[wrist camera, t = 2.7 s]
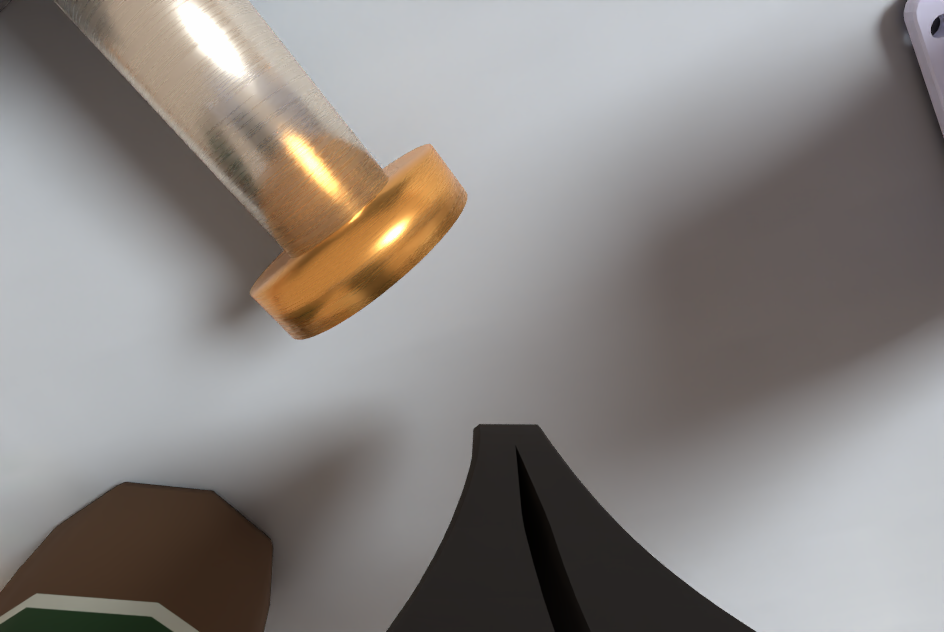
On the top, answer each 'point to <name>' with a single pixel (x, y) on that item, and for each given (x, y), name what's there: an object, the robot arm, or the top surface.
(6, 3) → the block
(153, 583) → the beer bottle
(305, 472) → the top surface
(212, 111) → the pin
